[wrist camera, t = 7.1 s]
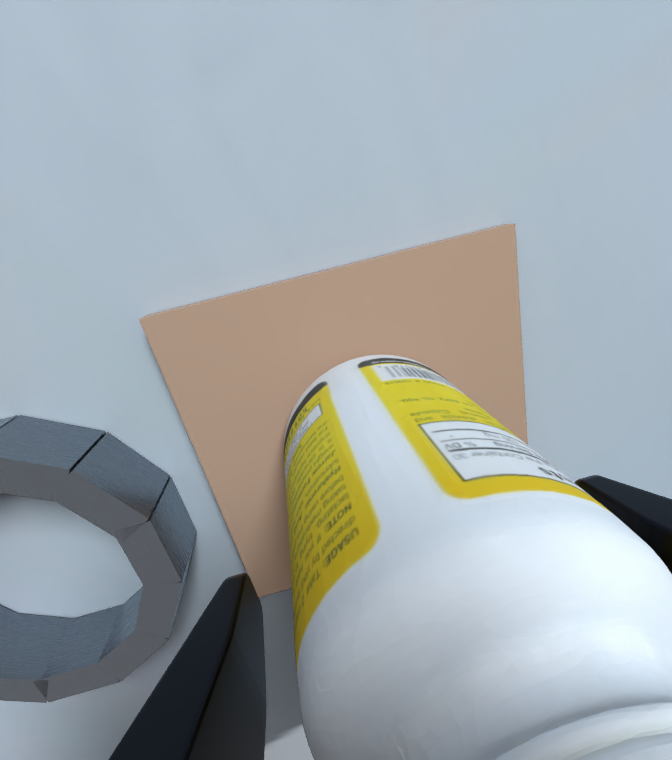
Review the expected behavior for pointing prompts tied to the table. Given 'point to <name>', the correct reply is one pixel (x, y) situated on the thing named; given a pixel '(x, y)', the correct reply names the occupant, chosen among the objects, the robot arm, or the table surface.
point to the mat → (332, 363)
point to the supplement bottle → (462, 586)
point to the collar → (117, 517)
